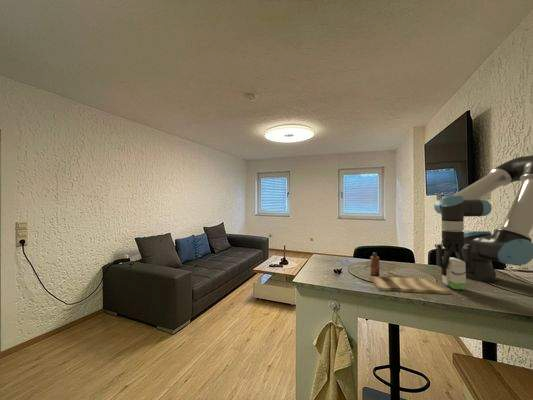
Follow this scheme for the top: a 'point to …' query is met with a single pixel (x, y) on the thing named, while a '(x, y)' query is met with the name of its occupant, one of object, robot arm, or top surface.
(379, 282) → the panel
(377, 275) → the brown bottle
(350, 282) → the top surface
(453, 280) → the ink box
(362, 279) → the top surface
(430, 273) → the top surface
